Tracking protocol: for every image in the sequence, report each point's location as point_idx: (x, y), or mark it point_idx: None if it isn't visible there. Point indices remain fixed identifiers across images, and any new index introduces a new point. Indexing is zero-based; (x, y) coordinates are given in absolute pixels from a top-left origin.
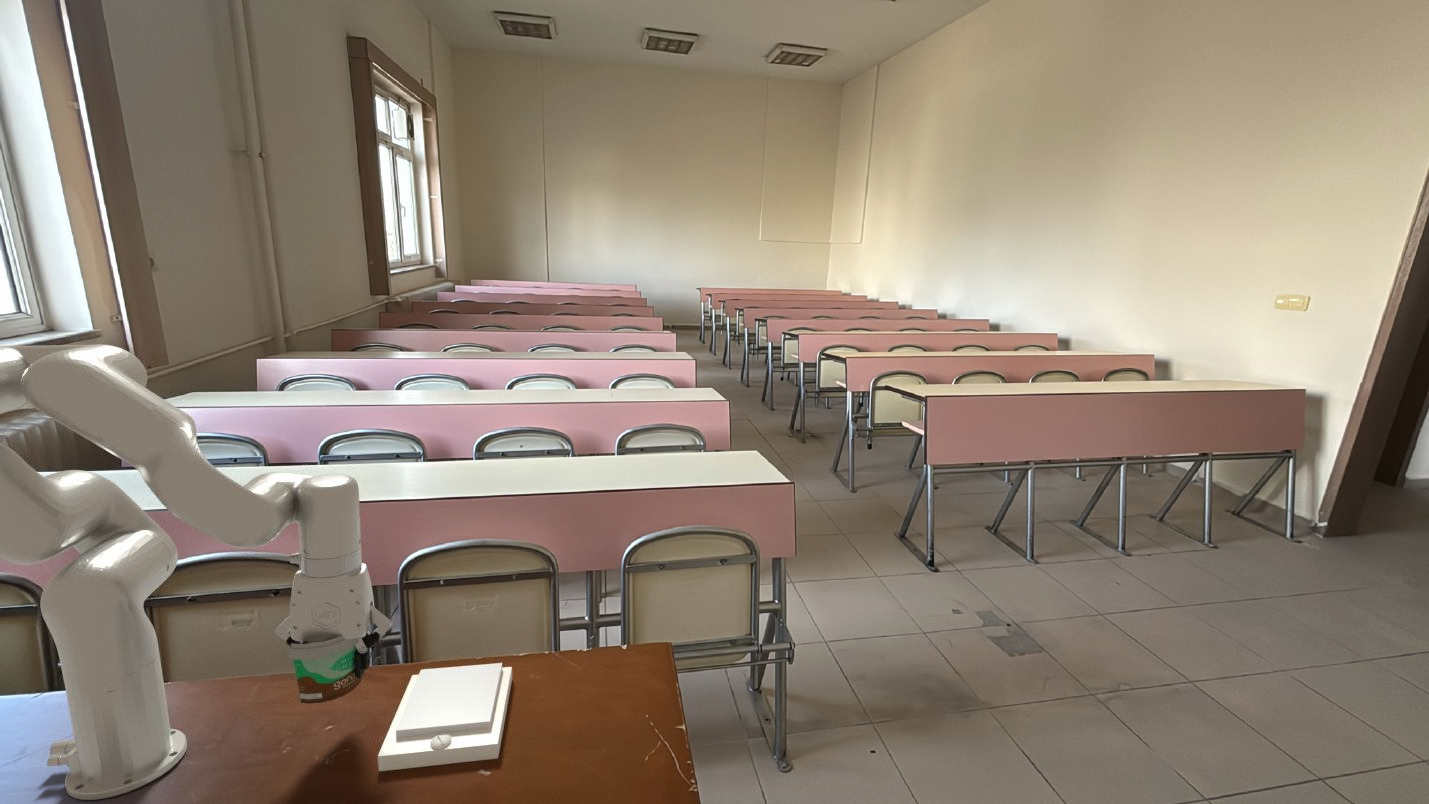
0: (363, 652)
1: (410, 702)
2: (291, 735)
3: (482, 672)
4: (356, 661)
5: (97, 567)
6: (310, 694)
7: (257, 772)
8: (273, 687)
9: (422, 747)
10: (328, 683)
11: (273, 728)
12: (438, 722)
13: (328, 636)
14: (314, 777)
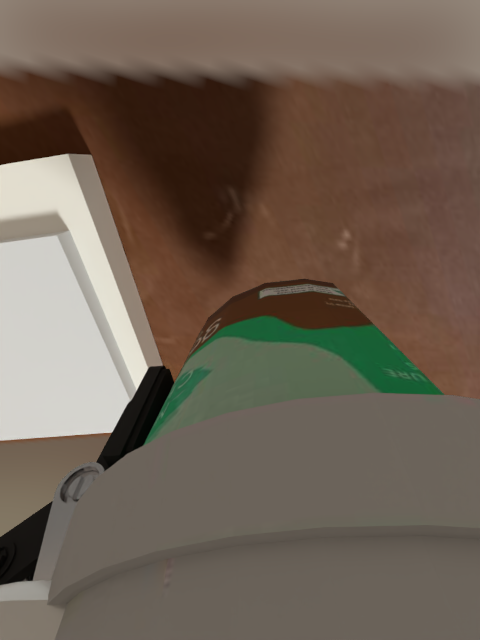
0: (83, 466)
1: (95, 337)
2: (350, 283)
3: (8, 418)
4: (130, 421)
5: None
6: (299, 291)
7: (384, 160)
8: None
9: None
10: (232, 324)
11: (396, 305)
12: None
13: None
14: (237, 136)
